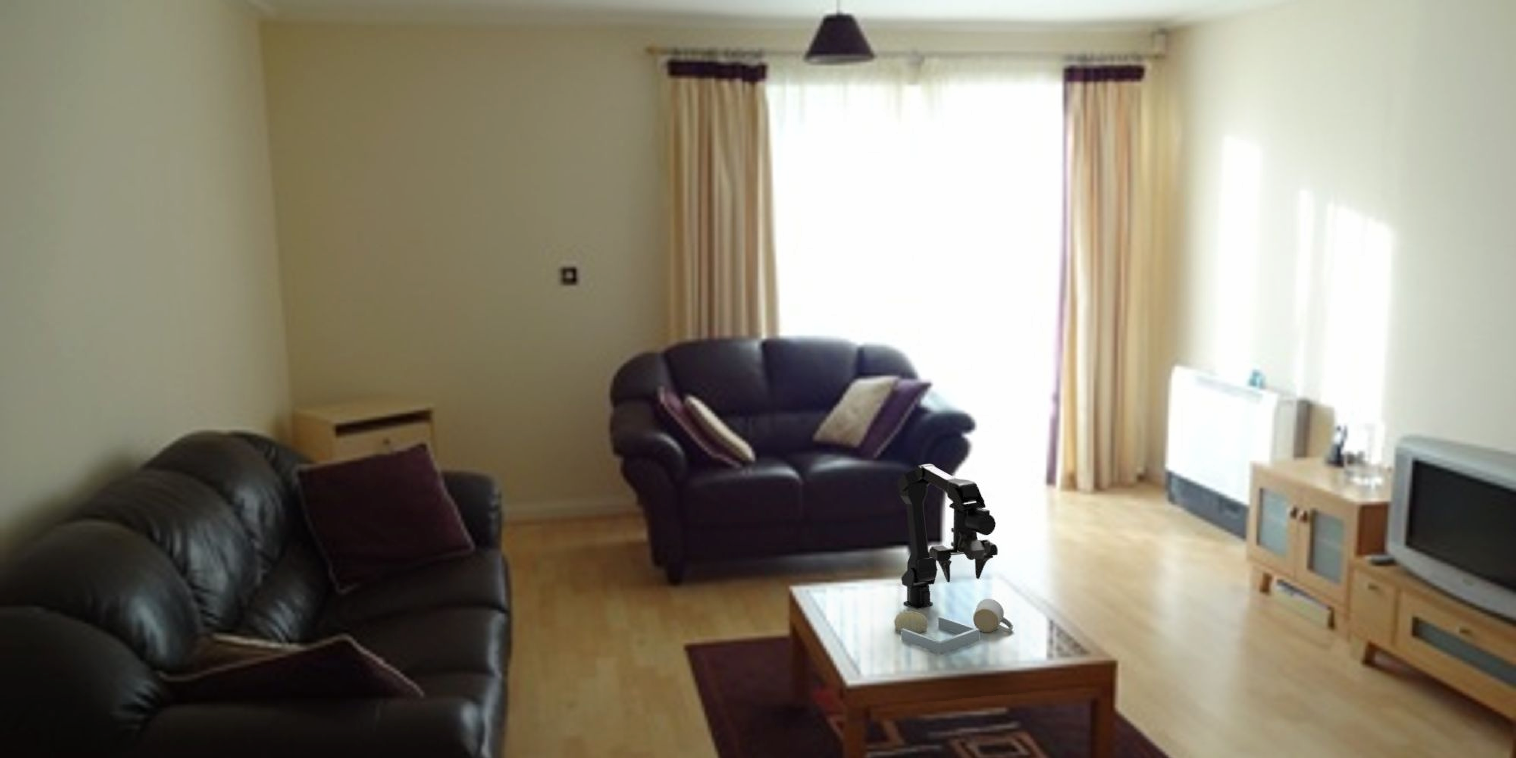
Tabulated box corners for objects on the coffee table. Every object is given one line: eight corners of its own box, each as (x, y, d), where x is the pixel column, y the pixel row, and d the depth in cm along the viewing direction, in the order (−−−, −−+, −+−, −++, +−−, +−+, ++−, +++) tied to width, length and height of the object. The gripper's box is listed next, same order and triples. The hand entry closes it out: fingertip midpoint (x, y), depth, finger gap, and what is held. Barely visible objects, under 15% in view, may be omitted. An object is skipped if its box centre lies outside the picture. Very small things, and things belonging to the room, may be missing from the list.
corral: (901, 639, 290) (901, 629, 290) (940, 626, 300) (940, 615, 300) (939, 654, 279) (939, 643, 279) (979, 639, 289) (979, 629, 289)
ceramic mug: (971, 632, 295) (972, 605, 294) (976, 622, 302) (977, 596, 301) (1010, 637, 291) (1011, 610, 290) (1014, 627, 299) (1015, 600, 298)
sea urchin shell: (922, 631, 291) (903, 608, 294) (904, 647, 295) (885, 624, 297) (935, 621, 299) (917, 598, 301) (917, 636, 303) (899, 614, 305)
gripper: (947, 537, 285) (946, 593, 288) (1008, 530, 291) (1007, 585, 293) (928, 526, 296) (927, 580, 298) (988, 520, 301) (987, 573, 304)
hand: (963, 580), depth 298 cm, fingers open, 9 cm apart
